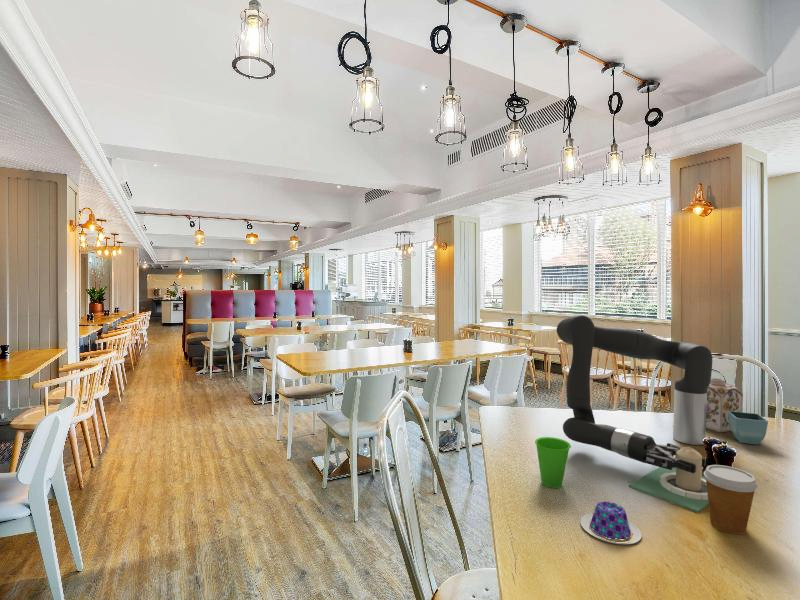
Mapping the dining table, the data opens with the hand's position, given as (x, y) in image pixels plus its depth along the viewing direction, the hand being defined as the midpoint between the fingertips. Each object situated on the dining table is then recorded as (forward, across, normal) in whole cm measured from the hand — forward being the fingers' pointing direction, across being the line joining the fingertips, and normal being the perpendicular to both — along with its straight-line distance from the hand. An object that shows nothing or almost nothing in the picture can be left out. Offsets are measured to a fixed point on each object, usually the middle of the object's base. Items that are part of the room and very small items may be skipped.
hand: (700, 465), depth 110 cm
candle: (-2, 0, +7) cm, 7 cm away
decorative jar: (-16, +65, +8) cm, 67 cm away
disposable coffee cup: (+10, -12, +7) cm, 17 cm away
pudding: (-5, -34, +8) cm, 36 cm away
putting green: (-4, 0, +7) cm, 8 cm away
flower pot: (-4, +55, +8) cm, 56 cm away
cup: (-25, -26, +8) cm, 37 cm away
